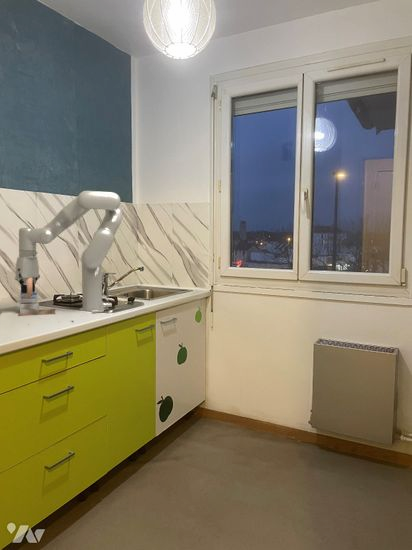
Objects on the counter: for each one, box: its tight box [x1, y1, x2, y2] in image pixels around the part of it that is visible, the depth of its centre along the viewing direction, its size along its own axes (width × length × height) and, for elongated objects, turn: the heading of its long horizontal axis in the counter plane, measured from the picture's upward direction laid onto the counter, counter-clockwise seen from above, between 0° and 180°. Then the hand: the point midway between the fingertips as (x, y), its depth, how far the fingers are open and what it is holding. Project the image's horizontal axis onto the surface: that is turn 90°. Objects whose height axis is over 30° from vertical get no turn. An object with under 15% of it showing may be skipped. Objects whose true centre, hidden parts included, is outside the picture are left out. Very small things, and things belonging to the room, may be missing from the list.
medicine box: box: [19, 291, 38, 303], centre depth 210 cm, size 8×4×9 cm, turn 112°
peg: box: [23, 277, 33, 296], centre depth 195 cm, size 4×4×10 cm
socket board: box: [17, 301, 56, 317], centre depth 195 cm, size 16×14×5 cm
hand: (28, 292), depth 195 cm, fingers closed on peg, 4 cm apart
